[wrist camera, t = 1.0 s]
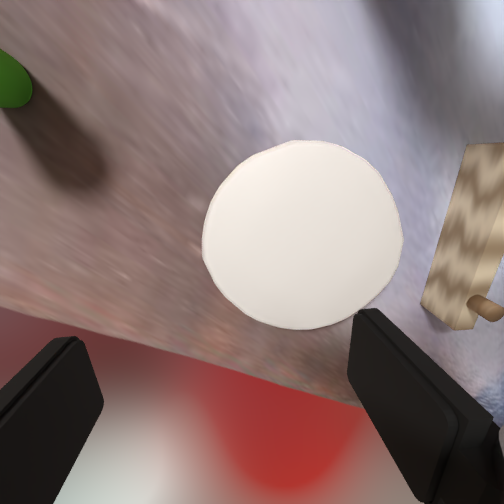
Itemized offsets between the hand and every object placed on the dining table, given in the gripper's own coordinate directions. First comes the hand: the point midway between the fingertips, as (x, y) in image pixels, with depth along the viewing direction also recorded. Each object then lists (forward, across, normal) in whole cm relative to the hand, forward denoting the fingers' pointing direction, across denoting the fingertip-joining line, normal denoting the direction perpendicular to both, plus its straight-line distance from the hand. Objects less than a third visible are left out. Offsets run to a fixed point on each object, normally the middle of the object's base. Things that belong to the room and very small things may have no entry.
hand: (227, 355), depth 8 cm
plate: (+28, -10, +4) cm, 30 cm away
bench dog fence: (+27, -35, +5) cm, 44 cm away
